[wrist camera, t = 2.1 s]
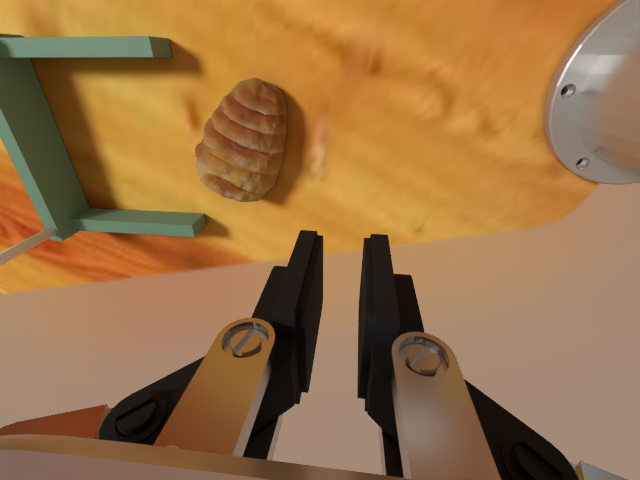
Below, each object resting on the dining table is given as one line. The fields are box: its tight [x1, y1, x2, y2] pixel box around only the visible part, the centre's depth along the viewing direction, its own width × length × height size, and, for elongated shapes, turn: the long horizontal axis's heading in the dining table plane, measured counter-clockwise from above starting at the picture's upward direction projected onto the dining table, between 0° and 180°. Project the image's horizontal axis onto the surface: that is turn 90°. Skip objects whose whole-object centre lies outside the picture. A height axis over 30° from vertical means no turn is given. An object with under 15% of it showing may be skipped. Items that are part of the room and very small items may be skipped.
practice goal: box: [0, 34, 206, 266], centre depth 21 cm, size 13×16×14 cm
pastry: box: [195, 78, 288, 202], centre depth 25 cm, size 9×7×4 cm
